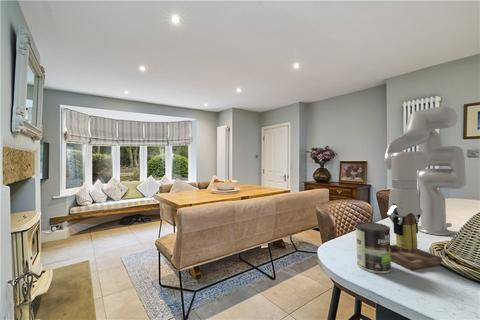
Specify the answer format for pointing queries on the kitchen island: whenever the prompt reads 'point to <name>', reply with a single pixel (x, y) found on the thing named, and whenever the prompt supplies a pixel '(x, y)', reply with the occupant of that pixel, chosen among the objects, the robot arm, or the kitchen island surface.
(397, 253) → the tray
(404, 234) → the sauce bottle
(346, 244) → the kitchen island surface
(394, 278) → the kitchen island surface
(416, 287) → the kitchen island surface
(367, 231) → the coffee can
